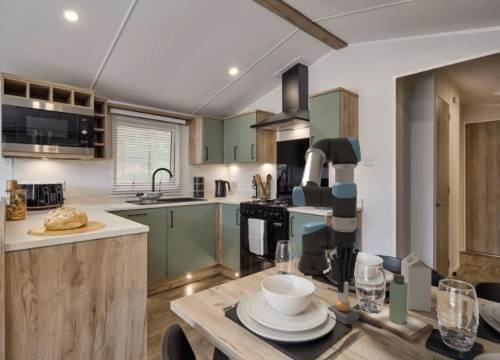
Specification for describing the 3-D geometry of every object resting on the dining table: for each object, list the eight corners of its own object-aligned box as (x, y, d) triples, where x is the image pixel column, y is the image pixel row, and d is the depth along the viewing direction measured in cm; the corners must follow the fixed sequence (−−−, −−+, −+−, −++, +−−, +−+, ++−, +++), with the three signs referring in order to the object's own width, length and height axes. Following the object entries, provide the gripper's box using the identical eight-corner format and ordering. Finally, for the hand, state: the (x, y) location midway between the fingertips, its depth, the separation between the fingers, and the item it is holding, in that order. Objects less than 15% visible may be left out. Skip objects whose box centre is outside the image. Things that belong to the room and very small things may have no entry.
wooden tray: (354, 313, 88) (354, 308, 88) (377, 303, 96) (377, 298, 95) (411, 343, 73) (411, 336, 73) (433, 328, 80) (433, 322, 80)
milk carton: (421, 302, 97) (422, 251, 96) (430, 312, 90) (431, 257, 89) (400, 300, 98) (401, 249, 98) (407, 310, 91) (408, 255, 91)
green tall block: (389, 319, 83) (389, 275, 83) (395, 316, 85) (396, 272, 84) (400, 324, 80) (401, 279, 80) (407, 321, 82) (407, 276, 81)
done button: (333, 307, 87) (333, 301, 87) (341, 303, 89) (341, 297, 89) (344, 312, 83) (344, 306, 83) (353, 309, 86) (353, 303, 86)
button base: (327, 315, 88) (327, 307, 87) (341, 309, 91) (341, 302, 91) (344, 325, 82) (345, 317, 82) (358, 318, 85) (359, 311, 85)
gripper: (340, 234, 79) (339, 311, 80) (366, 229, 86) (365, 301, 87) (321, 229, 86) (320, 301, 86) (347, 225, 93) (346, 292, 93)
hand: (343, 301), depth 86 cm, fingers closed
